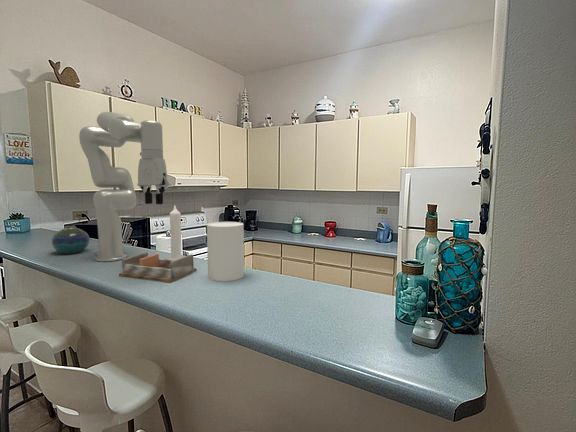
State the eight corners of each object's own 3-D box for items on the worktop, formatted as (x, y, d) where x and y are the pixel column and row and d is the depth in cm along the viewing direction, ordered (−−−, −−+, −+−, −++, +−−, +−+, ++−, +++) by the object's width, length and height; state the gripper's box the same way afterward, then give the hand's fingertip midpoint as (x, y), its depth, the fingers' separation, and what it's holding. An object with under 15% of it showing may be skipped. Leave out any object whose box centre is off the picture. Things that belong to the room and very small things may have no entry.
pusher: (139, 272, 120) (139, 259, 120) (156, 265, 129) (156, 253, 129) (142, 272, 120) (141, 259, 119) (159, 266, 129) (158, 254, 128)
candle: (187, 258, 146) (185, 204, 144) (180, 262, 139) (179, 206, 137) (172, 258, 147) (171, 204, 144) (165, 262, 140) (163, 205, 137)
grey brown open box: (118, 276, 119) (118, 258, 118) (149, 265, 134) (148, 249, 134) (170, 282, 112) (169, 263, 112) (196, 270, 128) (195, 253, 127)
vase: (93, 252, 156) (91, 226, 155) (55, 257, 146) (53, 229, 144) (86, 247, 167) (84, 222, 166) (50, 252, 157) (48, 225, 155)
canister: (236, 282, 114) (235, 227, 111) (201, 279, 116) (200, 225, 114) (248, 271, 127) (248, 222, 124) (217, 269, 129) (216, 221, 127)
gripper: (126, 154, 117) (128, 203, 120) (164, 154, 113) (166, 205, 115) (141, 156, 125) (143, 202, 127) (177, 155, 120) (179, 203, 122)
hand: (154, 203), depth 121 cm, fingers open, 4 cm apart
